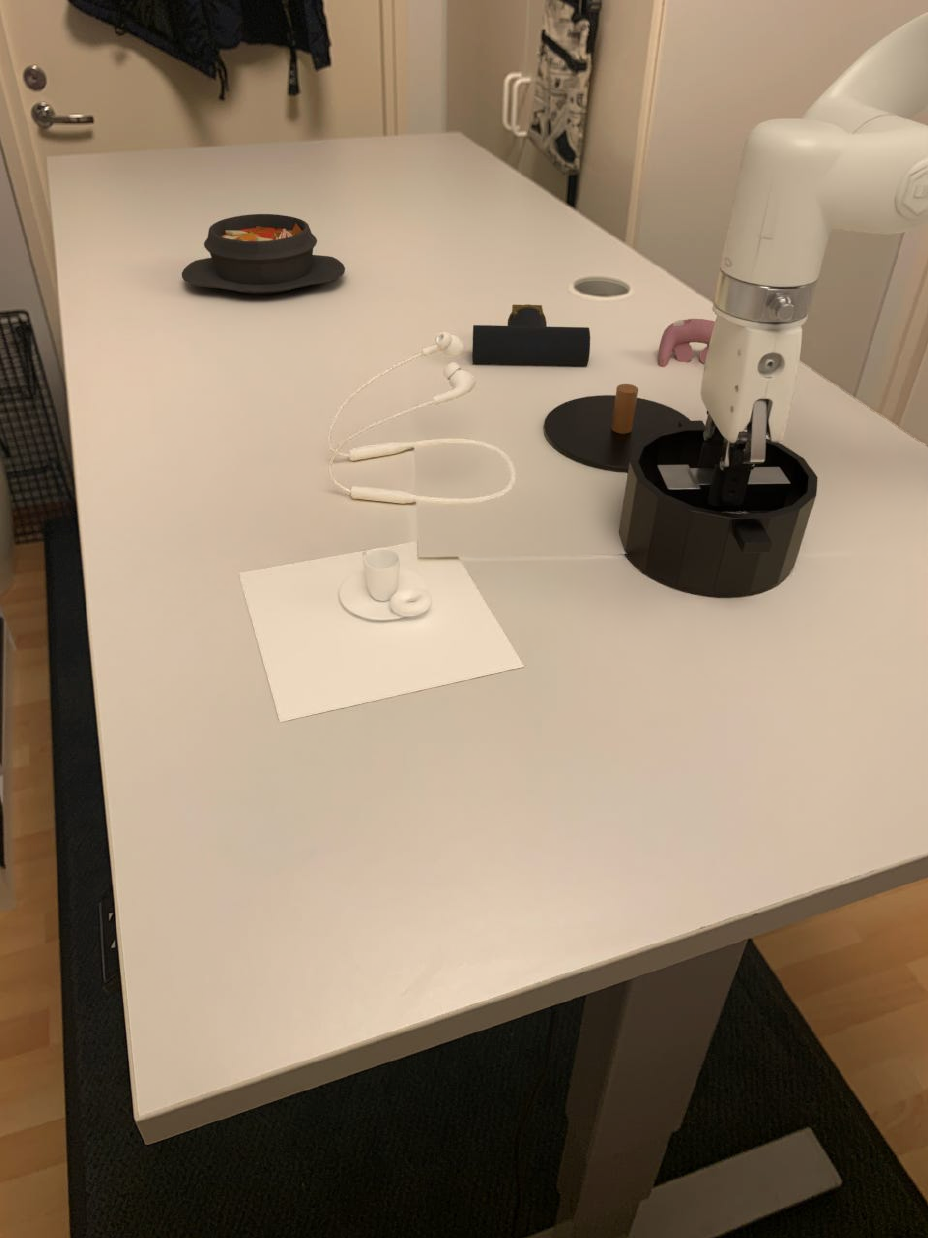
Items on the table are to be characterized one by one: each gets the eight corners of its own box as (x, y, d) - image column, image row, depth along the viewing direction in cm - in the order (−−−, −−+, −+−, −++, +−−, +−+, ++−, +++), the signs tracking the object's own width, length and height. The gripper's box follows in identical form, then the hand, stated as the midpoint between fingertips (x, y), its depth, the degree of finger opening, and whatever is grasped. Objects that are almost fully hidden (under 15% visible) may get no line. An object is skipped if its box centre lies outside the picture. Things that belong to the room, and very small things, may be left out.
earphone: (312, 417, 99) (438, 308, 93) (412, 511, 108) (532, 418, 102) (312, 480, 88) (454, 362, 83) (422, 579, 98) (557, 479, 92)
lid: (677, 403, 113) (685, 355, 109) (717, 476, 99) (728, 424, 95) (534, 404, 111) (538, 355, 108) (554, 478, 98) (560, 425, 94)
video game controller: (729, 378, 122) (739, 324, 121) (732, 376, 118) (743, 320, 116) (655, 370, 124) (664, 316, 122) (655, 367, 119) (665, 312, 118)
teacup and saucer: (444, 619, 78) (444, 581, 76) (354, 637, 76) (351, 599, 74) (414, 563, 85) (413, 526, 82) (330, 578, 83) (327, 541, 80)
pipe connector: (472, 298, 124) (582, 301, 124) (471, 336, 127) (578, 338, 128) (473, 333, 115) (591, 335, 116) (472, 372, 119) (586, 374, 119)
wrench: (769, 490, 87) (777, 462, 86) (785, 515, 84) (793, 486, 82) (652, 492, 87) (656, 464, 85) (663, 517, 83) (668, 488, 81)
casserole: (343, 261, 151) (339, 207, 146) (349, 301, 137) (345, 243, 132) (188, 265, 148) (179, 211, 143) (178, 307, 134) (167, 248, 128)
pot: (753, 486, 97) (772, 413, 92) (830, 614, 80) (859, 534, 75) (600, 488, 96) (610, 414, 91) (645, 618, 79) (661, 537, 74)
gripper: (848, 334, 67) (787, 541, 78) (775, 261, 80) (731, 448, 91) (748, 335, 66) (702, 543, 78) (691, 261, 79) (658, 449, 91)
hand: (718, 490), depth 84 cm, fingers open, 3 cm apart
